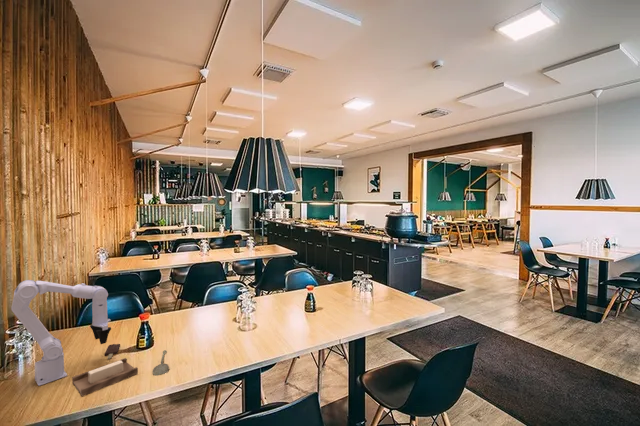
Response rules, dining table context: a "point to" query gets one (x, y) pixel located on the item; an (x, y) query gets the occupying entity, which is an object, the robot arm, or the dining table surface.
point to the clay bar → (105, 371)
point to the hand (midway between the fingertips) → (100, 340)
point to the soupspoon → (161, 367)
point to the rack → (86, 387)
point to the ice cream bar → (112, 350)
